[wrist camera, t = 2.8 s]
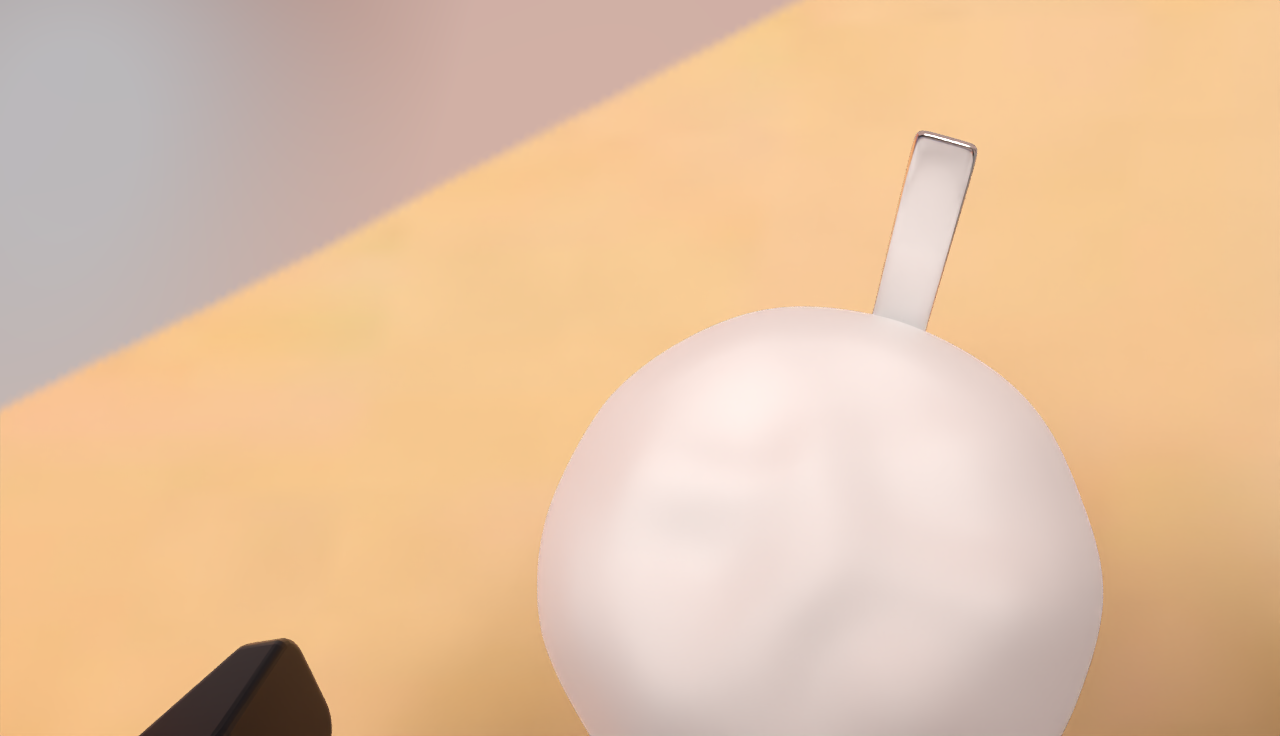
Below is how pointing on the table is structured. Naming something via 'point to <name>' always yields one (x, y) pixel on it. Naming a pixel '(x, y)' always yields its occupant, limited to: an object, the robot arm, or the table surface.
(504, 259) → the table surface
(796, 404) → the milkshake
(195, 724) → the robot arm
